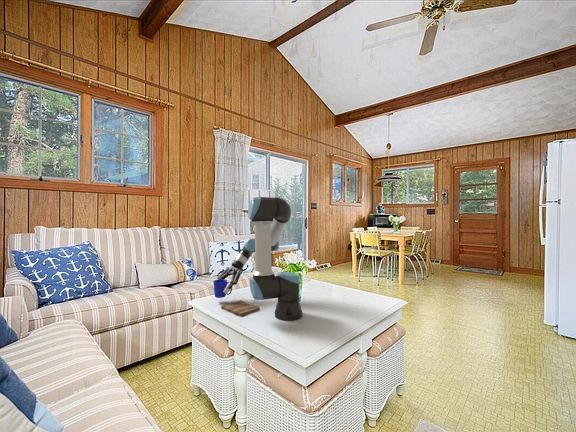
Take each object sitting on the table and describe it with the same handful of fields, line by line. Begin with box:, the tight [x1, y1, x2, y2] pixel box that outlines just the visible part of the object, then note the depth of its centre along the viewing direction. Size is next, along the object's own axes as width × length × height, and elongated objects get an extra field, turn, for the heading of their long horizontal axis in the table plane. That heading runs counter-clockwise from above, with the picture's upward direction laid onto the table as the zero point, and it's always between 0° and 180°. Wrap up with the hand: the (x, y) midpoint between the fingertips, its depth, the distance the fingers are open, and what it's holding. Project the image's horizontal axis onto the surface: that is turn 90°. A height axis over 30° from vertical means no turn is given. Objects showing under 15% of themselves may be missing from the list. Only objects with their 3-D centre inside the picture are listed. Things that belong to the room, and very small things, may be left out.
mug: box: [213, 279, 233, 299], centre depth 174 cm, size 8×12×10 cm
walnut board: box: [220, 300, 260, 317], centre depth 162 cm, size 18×14×2 cm
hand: (219, 291), depth 172 cm, fingers closed on mug, 11 cm apart
